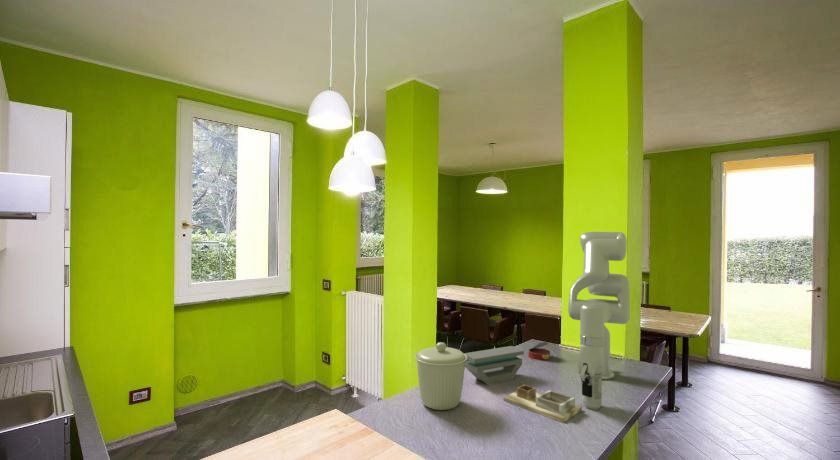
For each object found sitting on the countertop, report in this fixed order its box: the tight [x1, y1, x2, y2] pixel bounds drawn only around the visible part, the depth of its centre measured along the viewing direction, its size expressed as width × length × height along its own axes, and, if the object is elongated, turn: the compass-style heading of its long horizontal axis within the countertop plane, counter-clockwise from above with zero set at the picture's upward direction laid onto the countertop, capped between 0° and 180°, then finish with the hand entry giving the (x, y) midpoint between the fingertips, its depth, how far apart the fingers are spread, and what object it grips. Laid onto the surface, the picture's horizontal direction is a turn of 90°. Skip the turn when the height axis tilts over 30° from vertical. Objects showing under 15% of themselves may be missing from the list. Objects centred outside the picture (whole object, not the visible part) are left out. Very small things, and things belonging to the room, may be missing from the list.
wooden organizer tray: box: [503, 384, 583, 424], centre depth 136 cm, size 13×22×4 cm, turn 43°
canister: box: [414, 341, 468, 411], centre depth 137 cm, size 18×18×21 cm
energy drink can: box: [581, 366, 603, 411], centre depth 136 cm, size 6×6×15 cm
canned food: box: [528, 341, 551, 361], centre depth 190 cm, size 11×10×10 cm
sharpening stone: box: [463, 345, 525, 386], centre depth 161 cm, size 25×8×11 cm, turn 118°
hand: (591, 392), depth 135 cm, fingers open, 6 cm apart
